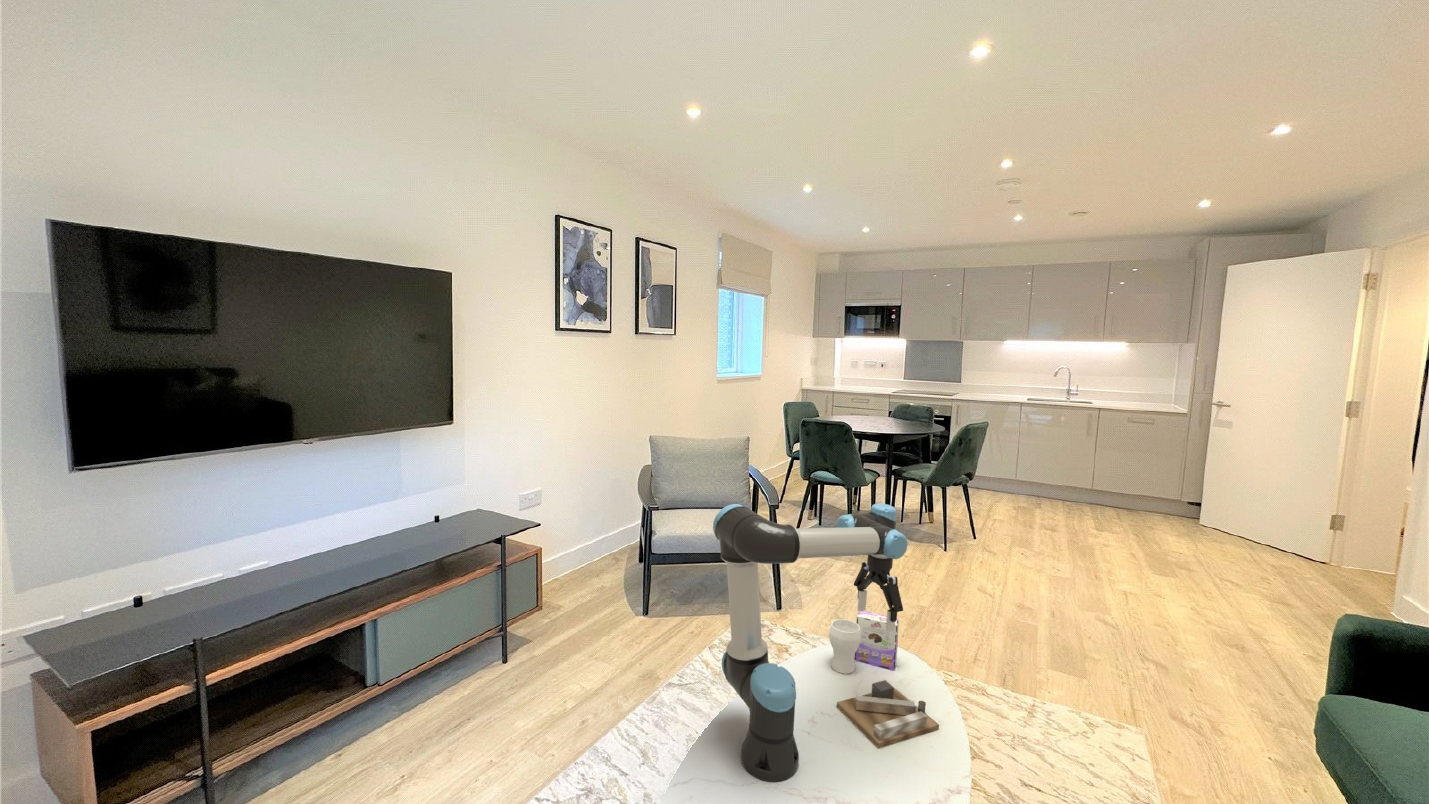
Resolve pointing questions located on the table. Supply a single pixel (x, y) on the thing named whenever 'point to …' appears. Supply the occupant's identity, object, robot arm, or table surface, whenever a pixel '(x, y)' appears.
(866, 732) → the board
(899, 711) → the bar
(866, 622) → the candy box
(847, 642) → the cup
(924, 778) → the table surface
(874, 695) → the dark grey block
